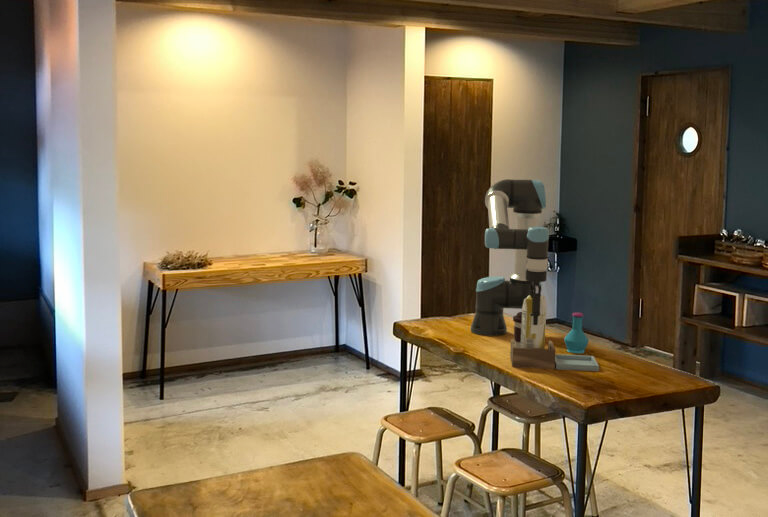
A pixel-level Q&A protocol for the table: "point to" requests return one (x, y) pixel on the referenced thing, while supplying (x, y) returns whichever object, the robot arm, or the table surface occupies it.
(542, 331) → the juice carton
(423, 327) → the table surface
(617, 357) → the table surface
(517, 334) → the coffee cup
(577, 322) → the perfume bottle
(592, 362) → the tray
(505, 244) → the robot arm
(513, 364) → the bay
